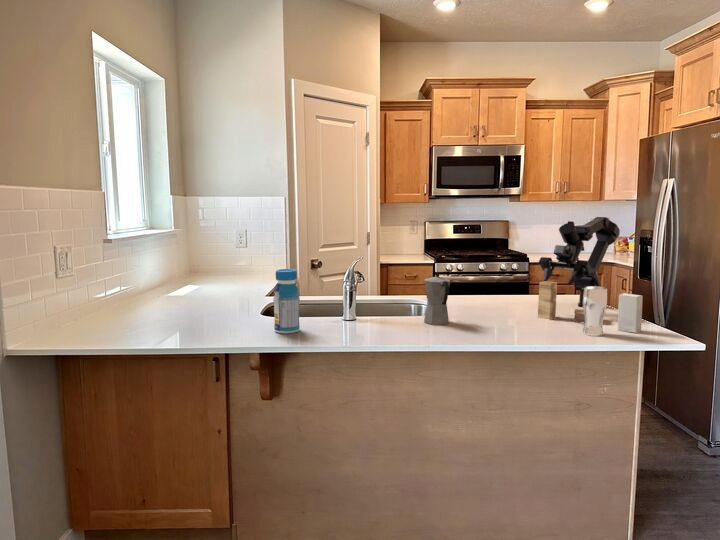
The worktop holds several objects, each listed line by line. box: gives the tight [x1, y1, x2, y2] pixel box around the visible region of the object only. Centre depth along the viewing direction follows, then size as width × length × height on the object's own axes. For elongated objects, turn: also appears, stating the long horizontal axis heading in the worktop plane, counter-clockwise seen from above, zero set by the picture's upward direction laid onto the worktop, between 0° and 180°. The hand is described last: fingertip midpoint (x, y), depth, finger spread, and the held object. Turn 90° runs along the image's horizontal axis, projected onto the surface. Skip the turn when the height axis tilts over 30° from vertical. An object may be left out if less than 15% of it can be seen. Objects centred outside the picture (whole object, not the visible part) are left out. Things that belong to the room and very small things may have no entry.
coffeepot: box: [423, 271, 451, 326], centre depth 177 cm, size 15×9×18 cm, turn 15°
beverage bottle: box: [272, 268, 301, 334], centre depth 165 cm, size 8×8×20 cm
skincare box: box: [617, 292, 644, 334], centre depth 167 cm, size 6×4×12 cm
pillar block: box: [537, 280, 558, 320], centre depth 186 cm, size 4×4×13 cm
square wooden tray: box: [574, 308, 585, 323], centre depth 182 cm, size 9×9×3 cm
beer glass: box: [582, 286, 608, 337], centre depth 163 cm, size 7×7×15 cm
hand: (556, 283), depth 189 cm, fingers open, 9 cm apart
